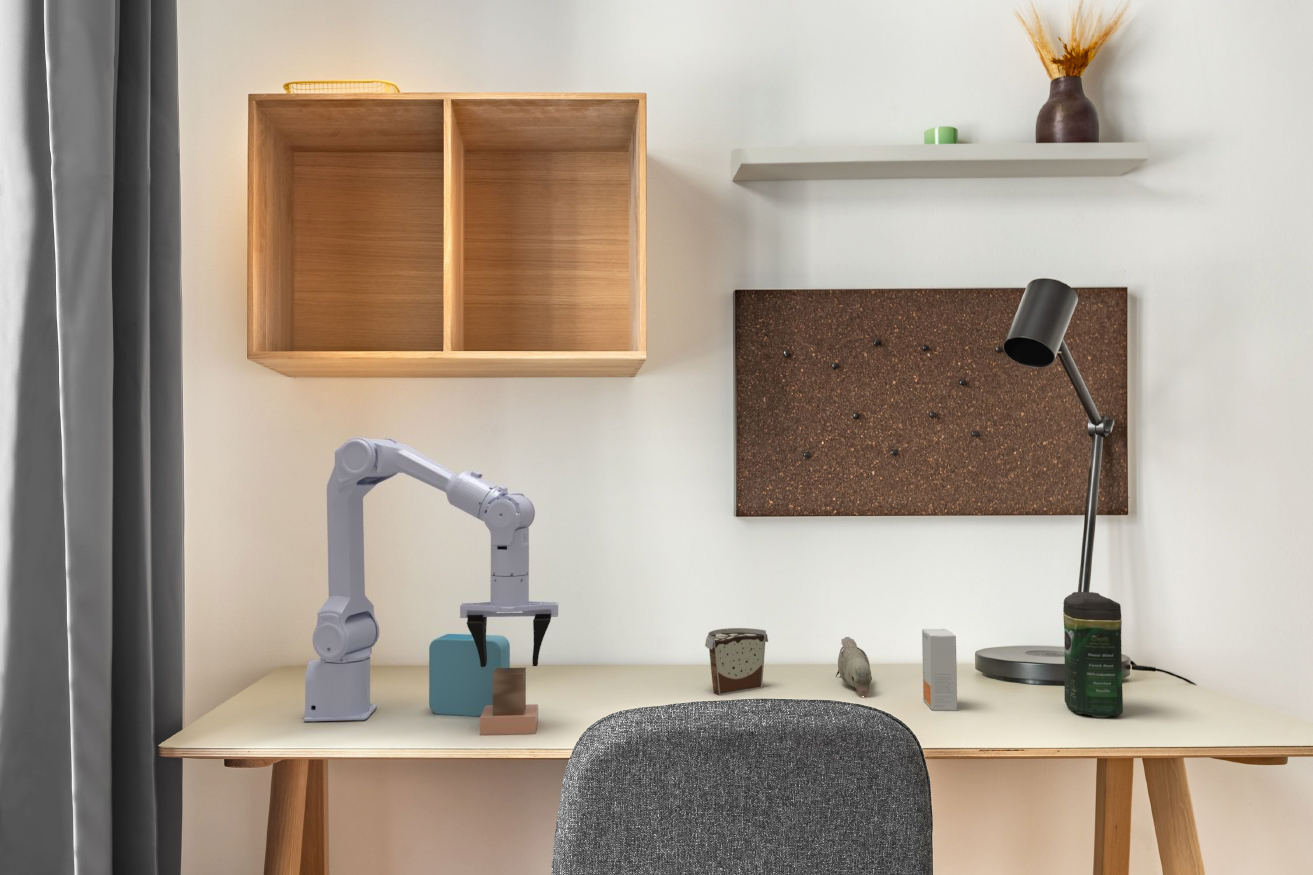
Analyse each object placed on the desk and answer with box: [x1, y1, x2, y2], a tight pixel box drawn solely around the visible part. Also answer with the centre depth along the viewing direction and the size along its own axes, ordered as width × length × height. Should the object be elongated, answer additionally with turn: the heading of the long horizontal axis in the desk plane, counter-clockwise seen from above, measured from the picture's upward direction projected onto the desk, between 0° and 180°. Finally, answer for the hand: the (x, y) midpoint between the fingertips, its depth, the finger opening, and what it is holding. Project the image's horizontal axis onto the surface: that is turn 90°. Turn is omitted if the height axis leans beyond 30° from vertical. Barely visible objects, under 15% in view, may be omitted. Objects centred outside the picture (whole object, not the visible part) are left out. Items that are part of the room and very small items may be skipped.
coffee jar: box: [1062, 591, 1124, 718], centre depth 147 cm, size 10×8×19 cm
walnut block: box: [493, 666, 527, 716], centre depth 139 cm, size 4×4×6 cm
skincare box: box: [921, 628, 958, 712], centre depth 151 cm, size 6×4×12 cm
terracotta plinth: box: [479, 703, 539, 736], centre depth 139 cm, size 8×7×2 cm
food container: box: [704, 627, 769, 696], centre depth 163 cm, size 12×6×10 cm, turn 122°
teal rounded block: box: [428, 633, 511, 718], centre depth 148 cm, size 12×4×12 cm, turn 79°
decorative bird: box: [835, 636, 873, 698], centre depth 164 cm, size 5×16×8 cm, turn 178°
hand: (509, 665), depth 139 cm, fingers open, 7 cm apart
